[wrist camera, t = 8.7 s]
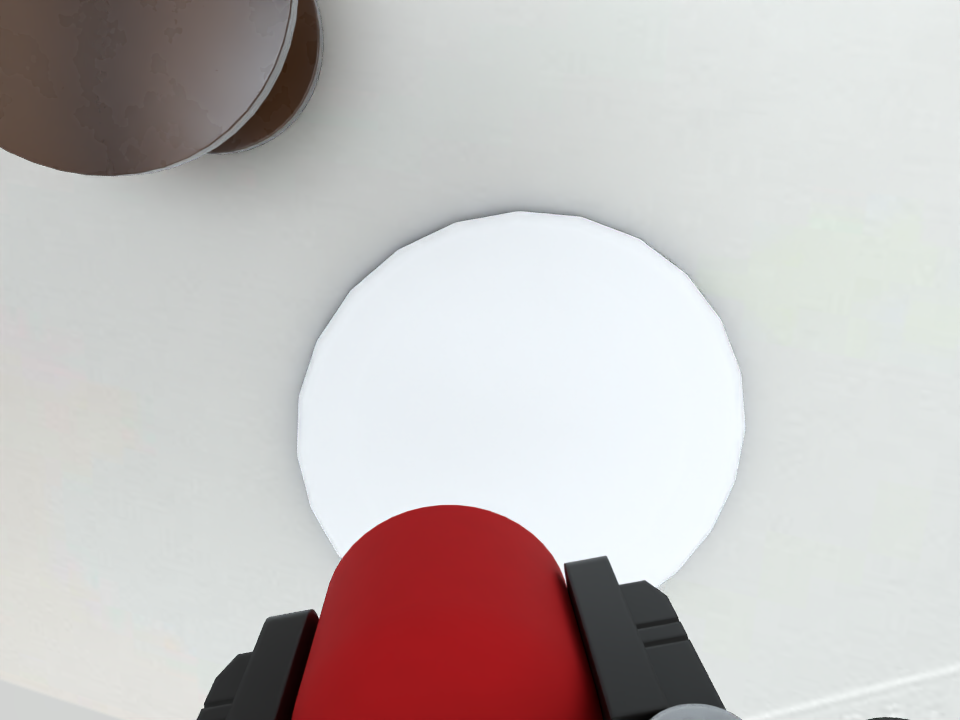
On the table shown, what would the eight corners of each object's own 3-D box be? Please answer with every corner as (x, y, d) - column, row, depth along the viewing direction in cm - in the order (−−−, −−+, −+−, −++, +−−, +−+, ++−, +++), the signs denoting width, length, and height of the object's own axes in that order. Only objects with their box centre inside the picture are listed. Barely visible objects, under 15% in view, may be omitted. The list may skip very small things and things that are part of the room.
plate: (275, 220, 37) (269, 222, 36) (750, 199, 38) (760, 200, 37) (321, 641, 43) (318, 654, 42) (728, 612, 45) (736, 624, 43)
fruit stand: (114, 194, 36) (-57, 206, 24) (31, -93, 33) (-218, -256, 20) (368, 152, 37) (332, 141, 24) (311, -138, 33) (236, -328, 21)
